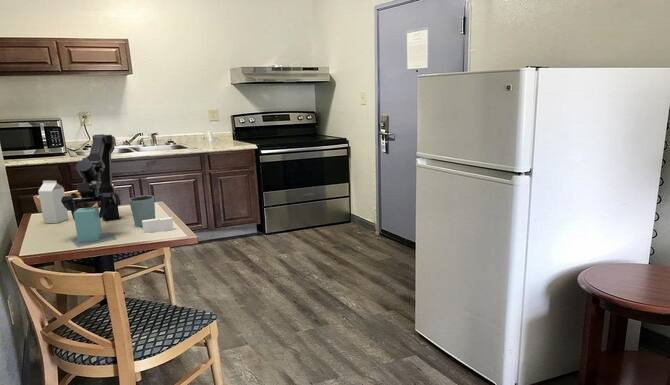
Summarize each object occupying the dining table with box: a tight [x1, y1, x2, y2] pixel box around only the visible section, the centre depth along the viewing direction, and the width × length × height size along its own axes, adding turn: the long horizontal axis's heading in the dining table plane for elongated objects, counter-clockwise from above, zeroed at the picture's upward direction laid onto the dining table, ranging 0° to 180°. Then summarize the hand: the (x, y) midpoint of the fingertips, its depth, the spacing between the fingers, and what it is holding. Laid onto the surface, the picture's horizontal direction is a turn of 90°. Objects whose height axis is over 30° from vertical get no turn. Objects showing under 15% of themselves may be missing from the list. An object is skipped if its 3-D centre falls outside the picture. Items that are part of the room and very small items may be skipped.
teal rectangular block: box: [73, 206, 103, 243], centre depth 181 cm, size 7×7×12 cm
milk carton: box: [37, 180, 70, 224], centre depth 211 cm, size 7×7×19 cm
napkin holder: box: [142, 216, 174, 234], centre depth 191 cm, size 15×11×6 cm
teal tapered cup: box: [128, 194, 156, 228], centre depth 200 cm, size 10×10×12 cm
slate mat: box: [70, 231, 118, 248], centre depth 182 cm, size 14×13×1 cm
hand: (87, 218), depth 180 cm, fingers open, 9 cm apart
